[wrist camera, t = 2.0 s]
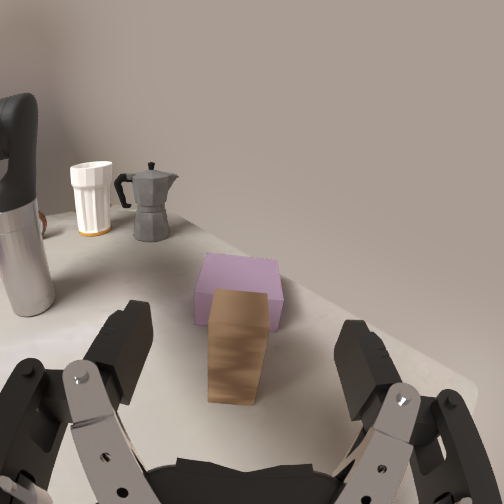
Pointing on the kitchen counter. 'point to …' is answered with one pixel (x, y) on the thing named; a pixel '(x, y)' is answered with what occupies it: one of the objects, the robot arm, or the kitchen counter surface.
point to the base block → (238, 283)
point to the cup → (92, 196)
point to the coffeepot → (148, 202)
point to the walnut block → (236, 345)
